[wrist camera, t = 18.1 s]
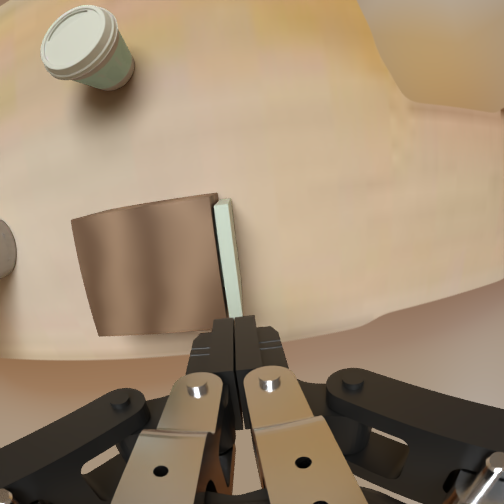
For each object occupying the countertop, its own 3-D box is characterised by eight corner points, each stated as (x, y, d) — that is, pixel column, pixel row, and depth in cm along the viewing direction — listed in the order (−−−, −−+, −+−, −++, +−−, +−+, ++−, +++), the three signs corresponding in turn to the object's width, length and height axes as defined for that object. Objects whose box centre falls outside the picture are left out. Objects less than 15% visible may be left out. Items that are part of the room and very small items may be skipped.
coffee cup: (149, 38, 30) (118, -8, 19) (140, 97, 32) (101, 66, 21) (90, 47, 30) (47, 12, 18) (81, 104, 32) (28, 82, 20)
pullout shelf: (135, 296, 37) (108, 328, 28) (119, 214, 35) (84, 225, 26) (241, 285, 37) (242, 318, 28) (230, 198, 35) (228, 204, 26)
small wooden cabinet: (128, 301, 38) (98, 336, 28) (110, 209, 35) (70, 219, 25) (230, 291, 38) (228, 327, 28) (217, 192, 35) (209, 196, 26)
